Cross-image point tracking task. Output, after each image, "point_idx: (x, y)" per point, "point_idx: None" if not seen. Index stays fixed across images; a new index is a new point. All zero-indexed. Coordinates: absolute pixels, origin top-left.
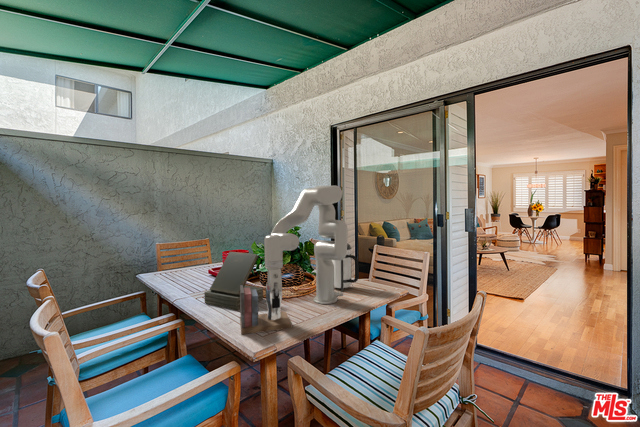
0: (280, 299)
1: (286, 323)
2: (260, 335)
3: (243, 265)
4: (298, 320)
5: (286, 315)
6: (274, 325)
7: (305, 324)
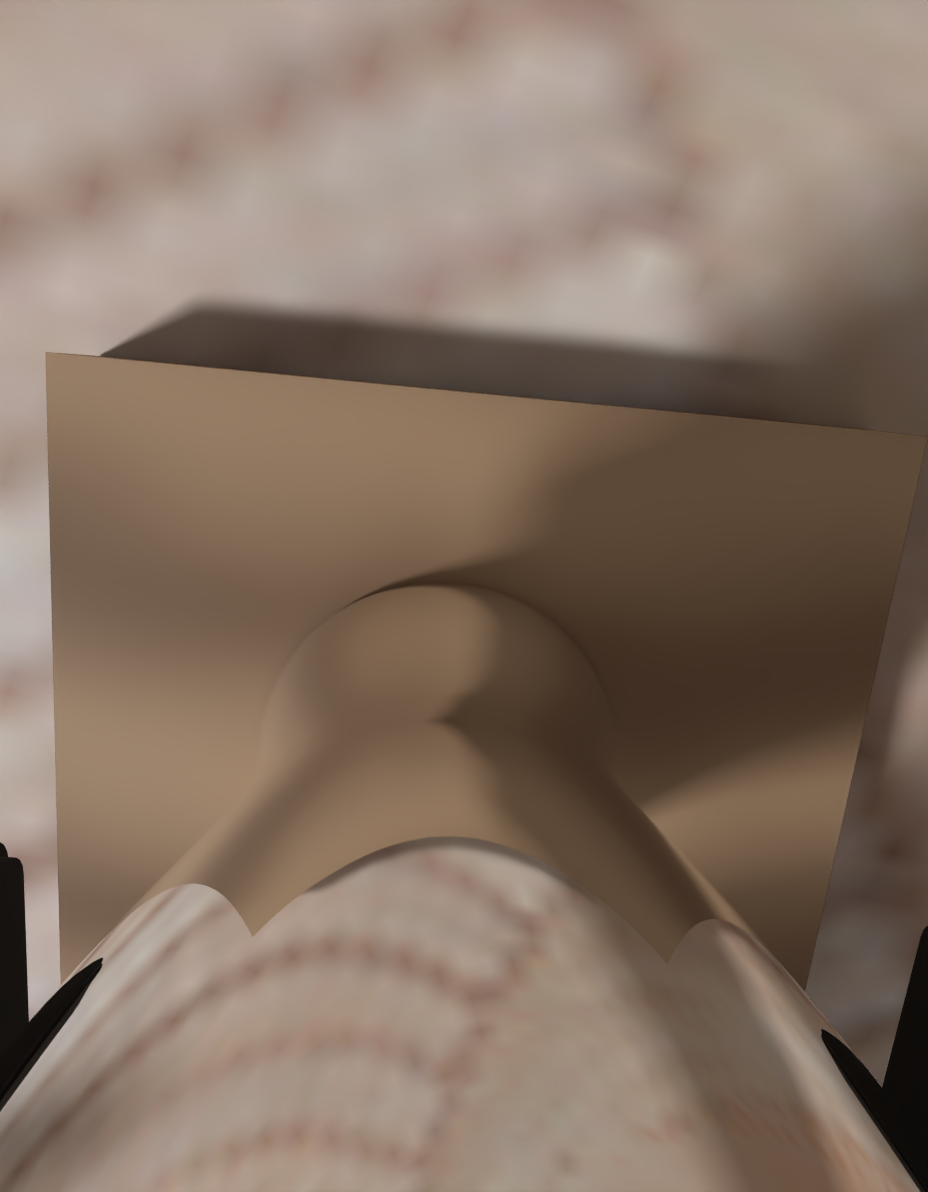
0: (777, 961)
1: (884, 560)
2: (882, 1030)
3: None
4: (516, 123)
5: (362, 410)
6: (839, 826)
7: (839, 34)
